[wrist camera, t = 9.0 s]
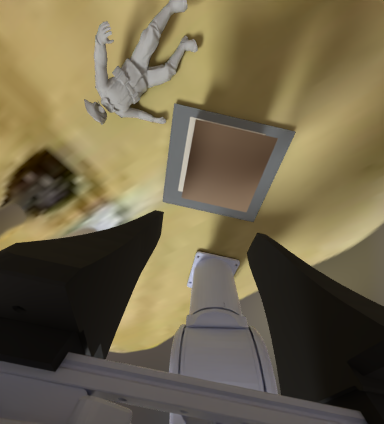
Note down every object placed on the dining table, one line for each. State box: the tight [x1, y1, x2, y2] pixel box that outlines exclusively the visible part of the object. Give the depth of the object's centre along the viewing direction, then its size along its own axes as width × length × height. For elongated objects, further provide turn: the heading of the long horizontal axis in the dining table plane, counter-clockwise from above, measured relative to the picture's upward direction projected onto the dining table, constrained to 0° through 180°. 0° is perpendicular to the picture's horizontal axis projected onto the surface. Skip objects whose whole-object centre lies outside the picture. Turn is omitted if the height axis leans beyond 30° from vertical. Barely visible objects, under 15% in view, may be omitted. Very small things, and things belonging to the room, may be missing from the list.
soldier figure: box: [84, 0, 198, 125], centre depth 13 cm, size 8×5×12 cm
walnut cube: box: [182, 119, 278, 212], centre depth 11 cm, size 5×5×5 cm
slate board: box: [163, 103, 296, 222], centre depth 18 cm, size 12×14×1 cm
